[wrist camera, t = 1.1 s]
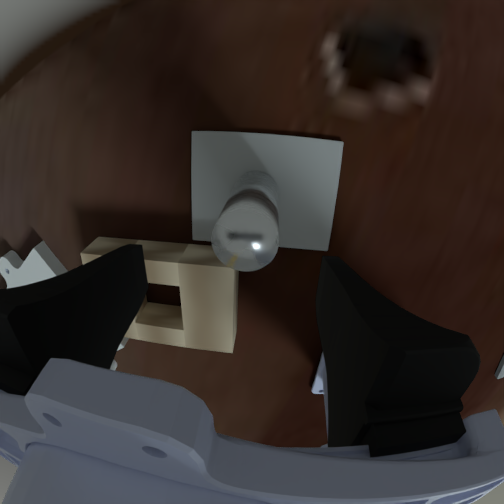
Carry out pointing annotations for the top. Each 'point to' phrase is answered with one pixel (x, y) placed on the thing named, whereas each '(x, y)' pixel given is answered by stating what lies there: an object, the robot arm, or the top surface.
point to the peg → (248, 223)
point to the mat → (283, 172)
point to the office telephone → (500, 369)
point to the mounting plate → (35, 271)
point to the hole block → (182, 294)
